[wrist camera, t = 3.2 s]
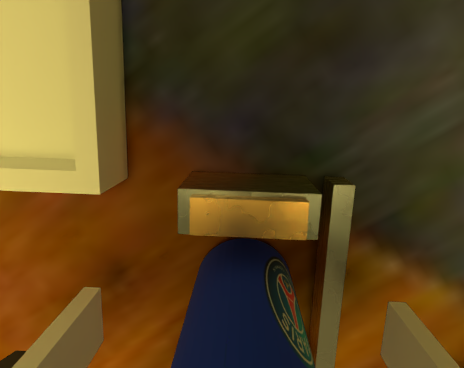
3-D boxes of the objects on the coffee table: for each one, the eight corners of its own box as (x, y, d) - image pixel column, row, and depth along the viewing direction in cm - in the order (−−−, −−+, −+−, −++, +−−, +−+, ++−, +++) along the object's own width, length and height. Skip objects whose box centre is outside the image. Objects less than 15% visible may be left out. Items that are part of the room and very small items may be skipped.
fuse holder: (192, 171, 18) (174, 192, 14) (343, 177, 18) (376, 200, 13) (191, 363, 21) (176, 434, 16) (322, 371, 21) (344, 444, 16)
